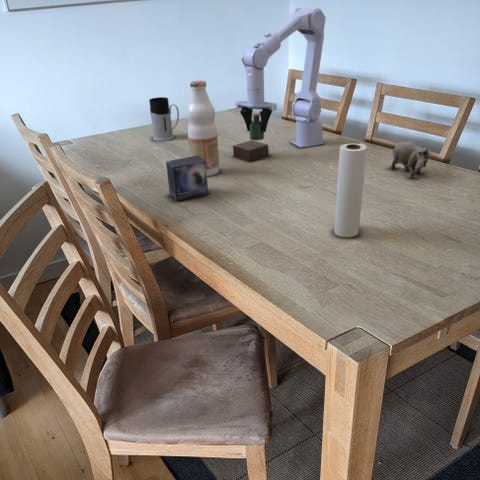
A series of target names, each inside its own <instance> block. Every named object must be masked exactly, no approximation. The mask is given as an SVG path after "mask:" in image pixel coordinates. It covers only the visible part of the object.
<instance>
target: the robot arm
mask: <svg viewBox="0 0 480 480" xmlns="http://www.w3.org/2000/svg"><path fill="white" fill-rule="evenodd" d="M326 18H327V17H326V15H325V13H324V11H323V10H322V9H321V8H302V7H298V8H296V9H295V10H294V11H293V12H291V13H290V16H289V17H288V19H287V20H285V21H284V23H283V24H282V25H281V26H279V28H278V29H277V30H275V32H265V34H264V36H263V37H262V38H261V39H260V40H259V41H258V42H255V43H254V45H253V47H248V48H247V49H245V51H244V52H243V55H242V58H241V62H242V65H243V66H244V70H245V71H244V72H245V74H246V75H245V77H246V100H238V101H235V108H236V109H241V110H239V114H240V115H241V116H242V119H243V121H244V123H245V126H246V127H245V128H246V131H247V132H250V129H249V123H250V122H251V121H252V120H253V110H260V111H259V114H260V116H259V118H260V120H261V130H262V133H264V134H265V132H267V128H268V124H269V121H270V118H271V115H272V114H273V112H275V111H277V110H278V107H277V106H278V104H277V103H275V102H269V101H265V67H266V66H267V65H268V61H269V59H270V58H271V57H272V56H273V55H274V54H276V52H277V51H279V50H280V48H281V46H282V45H281V44H282V42H283V41H285V40H287V38H289V37H290V36H291V35H292V34H294V33H295V32H296V31H298V32H299V33H300V34H301V35H302V36H303V37H304V38H305V40H306V50H305V56H304V64H303V71H302V80H301V87H300V90H299V91H298V92H297V93H296V94H295V96H294V101H293V103H292V105H291V106H292V107H291V111H292V112H291V113H292V115H293V116H294V120H296V123H295V125H296V126H295V127H296V129H295V140H292V141H291V143H292V144H293V145H295V146H297V147H299V148H308V147H314V146H320V145H324V142H323V130H324V129H323V128H324V126H323V121H322V119H321V118H319V117H320V115H321V112H322V106H321V105H322V104H321V103H322V99H321V96H320V95H319V94H318V92H317V88H318V81H319V75H320V74H319V73H320V69H321V68H320V67H321V60H322V54H323V53H322V52H323V46H324V40H325V25H326Z"/></svg>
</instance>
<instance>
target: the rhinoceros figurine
mask: <svg viewBox="0 0 480 480" xmlns="http://www.w3.org/2000/svg"><path fill="white" fill-rule="evenodd" d="M431 154H432V152H430V151H429V150H428V148H426V147H420V146H419V145H417V144H415V143H414V142H412V141H405V140H404V141H400V142H398V143H397V144H396V145H395V146H394V148H393V150H392V153H391V155H392V157H393V159H392V161H391V165H390V166H389V170H394V171H395V170H397V168H396V165H398V164H400V165H403V167H404V168H405V169H406V170H405V171H409V173H410V177H409V178H408V179H411V180H415V177H414V176H415V172H416V174H418V175H422V174H423V172H422V169H423V168H426V167H427V163H428V161H429V158H430V155H431Z"/></svg>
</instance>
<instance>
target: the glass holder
mask: <svg viewBox="0 0 480 480" xmlns="http://www.w3.org/2000/svg"><path fill="white" fill-rule="evenodd" d="M148 102H149V112H150V118H151V120H150V121H151V126H152V134H153V137H152V140H153V141H155V142H166V141H171V140H173V139H174V138H175V136H174V134H173V130H174V129H175V128H176V126H177V125H178V123H179V119H180V112H179V108H178V105H176V104H174V103H172V104H170V103H169V98H168V97H165V96H164V97H163V96H161V97H160V96H159V97H152V98H149V100H148ZM172 106H173V107H175V109H176V115H177V116H176V122H175V124H174V125H173V126H172V117H171V115H172Z"/></svg>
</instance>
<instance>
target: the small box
mask: <svg viewBox="0 0 480 480" xmlns="http://www.w3.org/2000/svg"><path fill="white" fill-rule="evenodd" d="M165 165H166V174H167V182H168V193H169V194H168V195H169V196H170V197H171V198H173V199H174V200H175V201H176V202H179V201H180V202H181V201H183V200H189V199H194V198H198V197H202V196H207V195H209V187H208V186H209V185H208V176H207V170H206V161H205V160H204V159H202V158H201V157H199V156H198V155H197V156H192V157H190V156H186V157H182V158H176V159H172V160H171V159H170V160H167V161H165Z"/></svg>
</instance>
